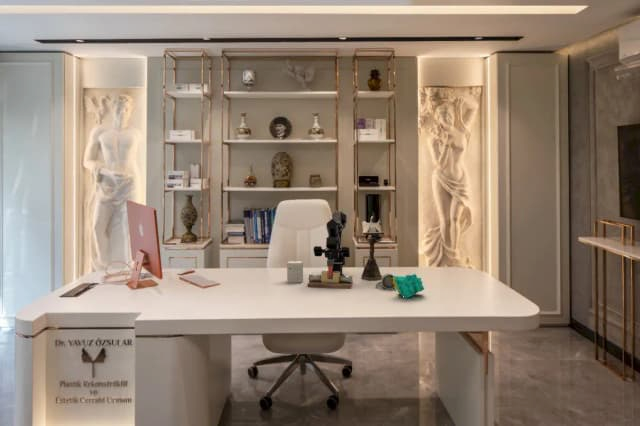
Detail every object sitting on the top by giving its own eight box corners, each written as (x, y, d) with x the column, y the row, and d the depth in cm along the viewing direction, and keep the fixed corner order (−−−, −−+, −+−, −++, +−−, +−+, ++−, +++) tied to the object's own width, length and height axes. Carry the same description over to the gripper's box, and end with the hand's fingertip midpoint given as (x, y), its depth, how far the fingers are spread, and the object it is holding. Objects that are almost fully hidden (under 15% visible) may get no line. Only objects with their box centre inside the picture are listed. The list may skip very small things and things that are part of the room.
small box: (303, 280, 264) (303, 261, 263) (302, 282, 259) (302, 263, 258) (288, 280, 265) (288, 260, 264) (287, 282, 259) (286, 262, 259)
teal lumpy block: (391, 277, 239) (415, 266, 237) (401, 300, 236) (426, 288, 235) (389, 277, 224) (415, 265, 223) (400, 301, 222) (426, 289, 220)
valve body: (310, 280, 256) (310, 270, 256) (352, 282, 253) (352, 271, 253) (308, 282, 252) (308, 271, 252) (351, 283, 249) (351, 273, 248)
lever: (328, 278, 254) (327, 259, 250) (333, 278, 253) (332, 259, 249) (327, 280, 252) (326, 261, 248) (333, 280, 252) (332, 261, 247)
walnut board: (311, 282, 260) (311, 279, 260) (352, 283, 257) (352, 280, 257) (307, 286, 248) (307, 284, 248) (350, 288, 245) (350, 285, 245)
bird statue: (386, 282, 259) (387, 216, 257) (361, 282, 260) (362, 216, 258) (384, 276, 276) (385, 214, 273) (361, 275, 277) (361, 214, 274)
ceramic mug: (394, 285, 251) (394, 271, 251) (396, 289, 244) (396, 274, 243) (374, 286, 252) (374, 271, 251) (376, 289, 244) (375, 274, 244)
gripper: (314, 230, 256) (310, 255, 246) (349, 231, 253) (347, 255, 243) (316, 243, 264) (313, 267, 254) (350, 244, 262) (348, 268, 251)
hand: (330, 264), depth 251 cm, fingers closed, pressing on lever
